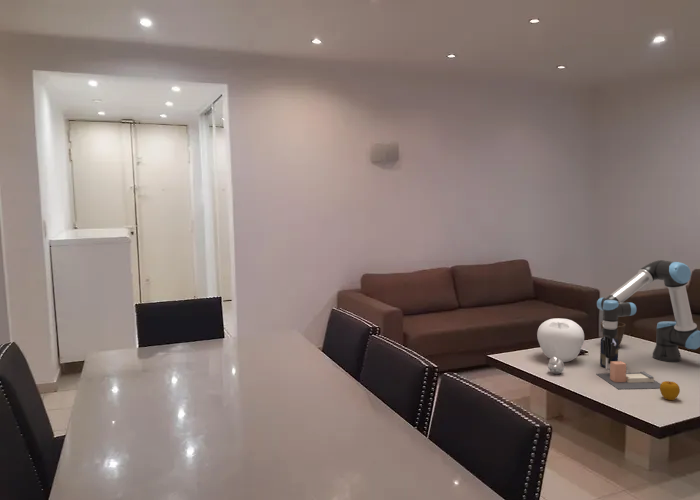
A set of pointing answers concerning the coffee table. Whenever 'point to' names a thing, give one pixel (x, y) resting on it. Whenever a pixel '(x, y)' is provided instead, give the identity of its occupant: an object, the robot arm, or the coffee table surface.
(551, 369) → the silver round lump
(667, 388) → the apple
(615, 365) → the pink upright block
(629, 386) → the slate mat
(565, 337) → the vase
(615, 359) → the canister
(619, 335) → the plant pot
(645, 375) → the ticket booklet
